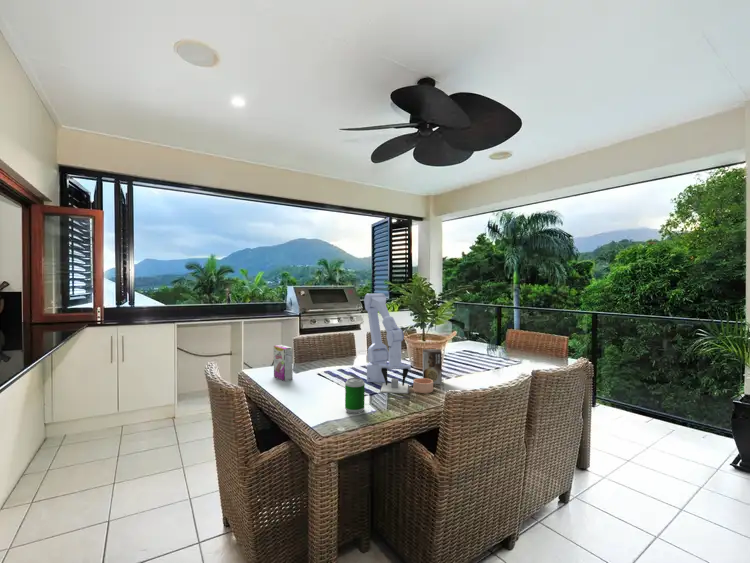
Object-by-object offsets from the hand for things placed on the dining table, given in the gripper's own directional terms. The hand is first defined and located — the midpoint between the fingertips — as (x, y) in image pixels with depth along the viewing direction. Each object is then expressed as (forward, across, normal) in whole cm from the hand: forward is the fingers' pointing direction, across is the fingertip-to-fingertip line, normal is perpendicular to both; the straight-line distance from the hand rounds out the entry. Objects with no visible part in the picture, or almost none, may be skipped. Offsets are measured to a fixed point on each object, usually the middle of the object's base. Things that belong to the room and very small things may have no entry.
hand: (394, 384), depth 163 cm
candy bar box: (+2, -58, +11) cm, 59 cm away
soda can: (+2, -14, -28) cm, 31 cm away
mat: (+2, 0, 0) cm, 2 cm away
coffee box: (+2, +18, +13) cm, 22 cm away
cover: (+2, 0, 0) cm, 2 cm away
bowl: (+2, +13, 0) cm, 13 cm away
